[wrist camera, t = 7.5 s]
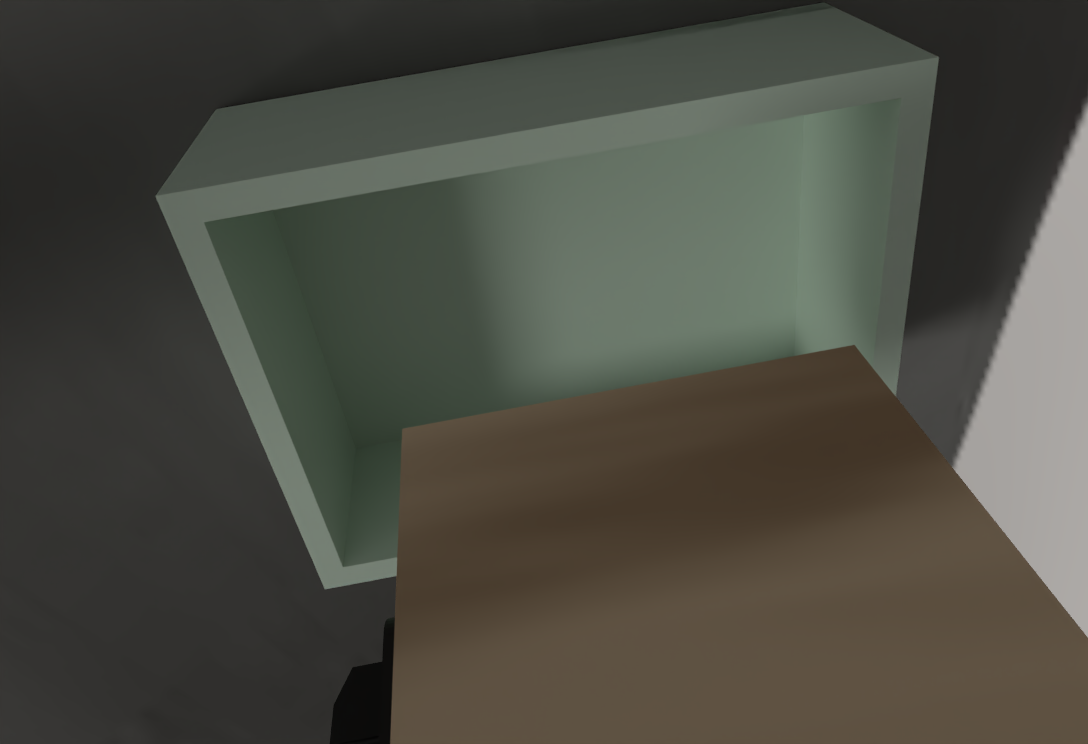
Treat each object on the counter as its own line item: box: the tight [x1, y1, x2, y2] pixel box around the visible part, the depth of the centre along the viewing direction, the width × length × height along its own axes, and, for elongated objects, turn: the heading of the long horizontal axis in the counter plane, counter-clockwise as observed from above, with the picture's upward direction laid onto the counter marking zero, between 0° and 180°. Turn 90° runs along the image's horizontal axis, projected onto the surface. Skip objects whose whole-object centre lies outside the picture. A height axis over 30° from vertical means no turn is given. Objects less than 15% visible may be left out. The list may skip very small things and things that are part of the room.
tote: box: [155, 2, 939, 589], centre depth 19 cm, size 14×10×5 cm
